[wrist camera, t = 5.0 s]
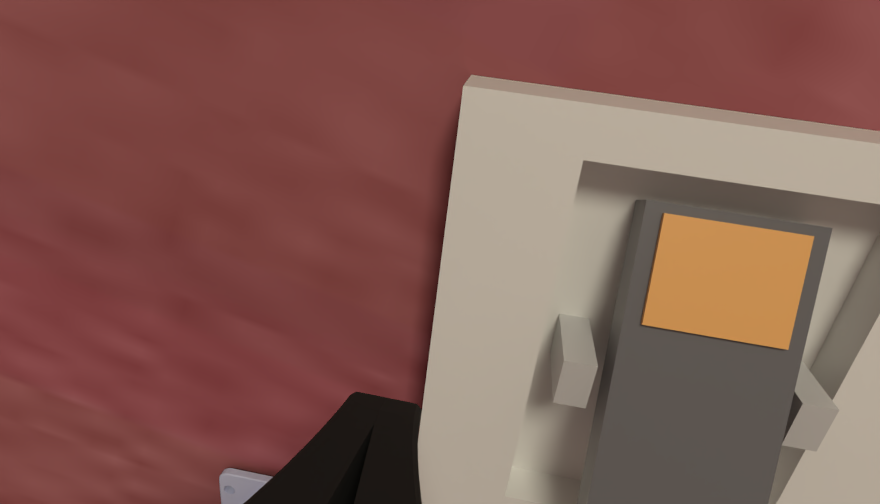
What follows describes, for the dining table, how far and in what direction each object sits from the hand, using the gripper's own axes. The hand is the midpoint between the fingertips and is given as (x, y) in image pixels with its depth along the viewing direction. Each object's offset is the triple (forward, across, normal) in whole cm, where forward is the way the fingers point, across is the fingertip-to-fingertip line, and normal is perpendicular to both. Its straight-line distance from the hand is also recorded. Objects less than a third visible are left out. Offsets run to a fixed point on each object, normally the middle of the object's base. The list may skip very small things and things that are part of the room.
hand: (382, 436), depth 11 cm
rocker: (+6, -8, +2) cm, 11 cm away
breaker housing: (+9, -8, +2) cm, 12 cm away
